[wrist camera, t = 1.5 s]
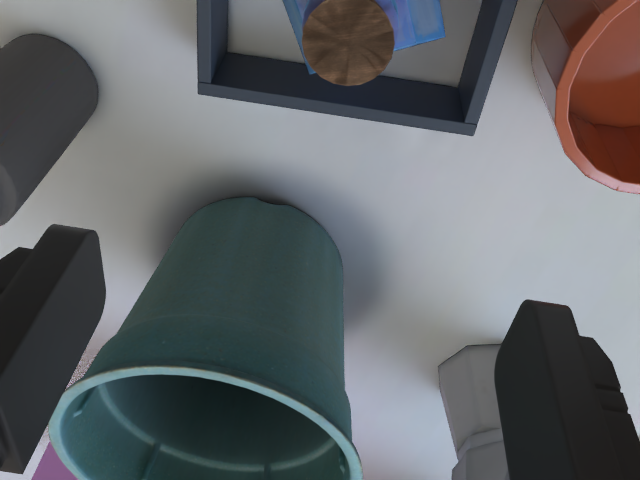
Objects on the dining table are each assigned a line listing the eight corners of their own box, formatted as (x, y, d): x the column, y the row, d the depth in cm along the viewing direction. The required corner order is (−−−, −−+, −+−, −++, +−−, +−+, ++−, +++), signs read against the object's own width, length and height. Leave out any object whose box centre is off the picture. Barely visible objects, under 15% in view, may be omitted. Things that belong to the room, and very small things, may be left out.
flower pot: (165, 330, 50) (91, 527, 38) (121, 160, 39) (-1, 357, 27) (366, 343, 49) (357, 551, 37) (377, 171, 38) (369, 383, 26)
